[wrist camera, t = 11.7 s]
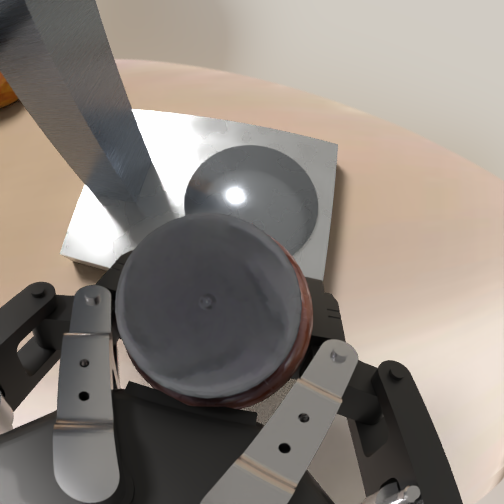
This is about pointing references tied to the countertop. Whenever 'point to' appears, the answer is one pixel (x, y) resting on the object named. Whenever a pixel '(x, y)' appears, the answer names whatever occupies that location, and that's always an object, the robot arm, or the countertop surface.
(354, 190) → the countertop surface
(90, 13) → the press
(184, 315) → the supplement bottle
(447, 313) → the countertop surface
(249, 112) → the countertop surface
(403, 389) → the robot arm
